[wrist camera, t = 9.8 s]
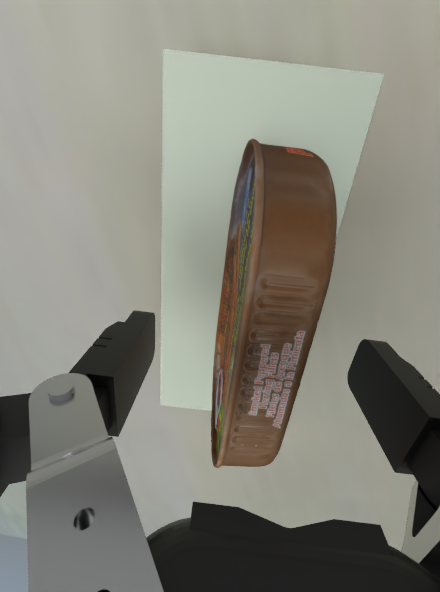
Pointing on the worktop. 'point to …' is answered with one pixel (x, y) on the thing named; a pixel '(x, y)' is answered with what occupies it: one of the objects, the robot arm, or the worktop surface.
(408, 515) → the robot arm
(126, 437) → the worktop surface
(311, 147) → the plinth
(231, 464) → the tin
